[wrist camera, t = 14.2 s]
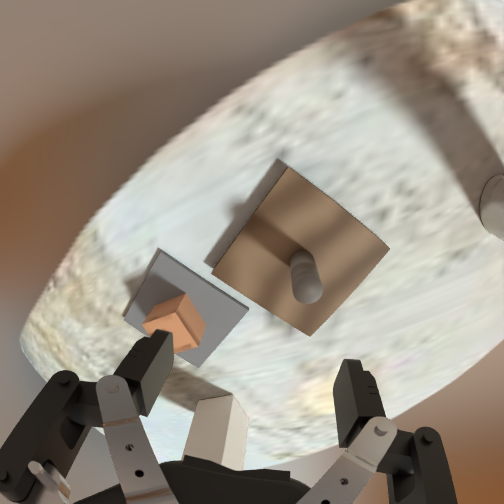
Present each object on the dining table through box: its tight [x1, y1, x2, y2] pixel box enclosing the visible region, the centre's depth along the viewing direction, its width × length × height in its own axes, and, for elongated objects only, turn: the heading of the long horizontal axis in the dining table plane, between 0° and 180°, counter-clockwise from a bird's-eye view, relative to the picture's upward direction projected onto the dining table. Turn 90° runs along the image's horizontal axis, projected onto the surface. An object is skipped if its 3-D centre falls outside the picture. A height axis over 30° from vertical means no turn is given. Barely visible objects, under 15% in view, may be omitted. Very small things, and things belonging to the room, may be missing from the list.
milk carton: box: [181, 395, 249, 471], centre depth 39 cm, size 7×7×19 cm
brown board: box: [211, 167, 390, 336], centre depth 33 cm, size 16×16×9 cm
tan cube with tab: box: [142, 293, 206, 354], centre depth 38 cm, size 6×6×6 cm
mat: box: [124, 251, 249, 368], centre depth 41 cm, size 14×14×1 cm
